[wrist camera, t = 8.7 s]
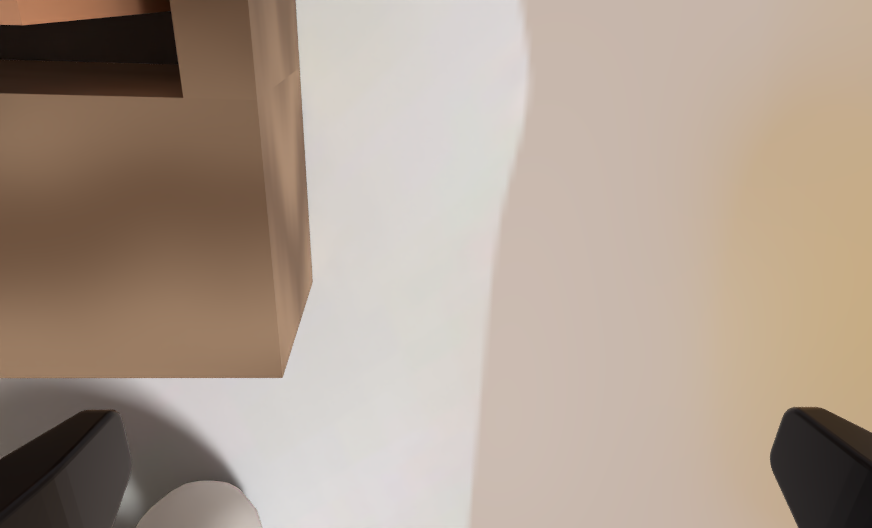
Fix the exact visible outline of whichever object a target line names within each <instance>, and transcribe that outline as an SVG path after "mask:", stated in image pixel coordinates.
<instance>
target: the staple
mask: <svg viewBox="0 0 872 528" xmlns="http://www.w3.org/2000/svg"><path fill="white" fill-rule="evenodd" d="M167 11H171V7H170V0H0V25H31V24H41V23H52V22H62V21H73V20H83V19H94V18H104V17H115V16H125V15H136V14H146V13H156V12H167Z"/></svg>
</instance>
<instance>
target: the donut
mask: <svg viewBox="0 0 872 528" xmlns="http://www.w3.org/2000/svg"><path fill="white" fill-rule="evenodd" d="M135 528H262V524H261V521H260V518H259V515H258V512H257V509H256V508H255V507H254V506H253V504H252V503H251V502H250V501H249V499H248V498H247V497H246V496H245V495H244V494H243V492H242V491H241V490H240V489H239V488H237V487H235V486H233V485H231V484H230V483H227V482H220V481H196V482H190V483H185V484H183V485H181V486H180V487H178V488H176V489H174V490H172V491H171V492H170V493H168V494H167V495H166V496H165V497H163V498H162V499H161V500H160V501H158V502H157V503H156V504H155V505H153V506H152V507H151V508H150V509H149V510H148V511H147V513H146V514H145V515H144V516H143V517H142V518H141V520H140V521H139V523H138V524H137V526H136V527H135Z"/></svg>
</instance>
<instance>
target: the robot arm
mask: <svg viewBox="0 0 872 528" xmlns="http://www.w3.org/2000/svg"><path fill="white" fill-rule="evenodd" d="M770 462H771V468H772V471H773V473H774V475H775V478H776V480H777V482H778V484H779V487H780V488H781V491H782V493H783V495H784V497H785V499H786V502H787V504H788V506H789V508H790V510H791V513H792V515H793V517H794V519H795V521H796V523H797V526H798V528H872V433H871V432H869V431H867V430H865V429H863V428H861V427H859V426H857V425H855V424H853V423H851V422H849V421H847V420H845V419H843V418H841V417H839V416H837V415H835V414H833V413H831V412H829V411H827V410H825V409H822V408H818V407H793V408H790V409H788V410H787V411H786V412H785V413H784V415H783V418H782V421H781V423H780V426H779V429H778V432H777V435H776V438H775V441H774V444H773V446H772V449H771V453H770ZM131 468H132V458H131V453H130V449H129V445H128V441H127V436H126V432H125V428H124V423H123V420H122V417H121V415H120V414H119V412H117V411H115V410H84V411H81V412H79V413H78V414H76V415H74V416H73V417H71V418H69V419H67V420H66V421H64V422H62V423H61V424H59V425H57V426H56V427H54V428H52V429H51V430H49V431H47V432H46V433H44V434H42V435H40V436H39V437H37V438H35V439H34V440H32V441H30V442H29V443H27V444H25V445H24V446H22V447H20V448H18V449H17V450H15V451H13V452H12V453H10V454H8V455H7V456H5V457H3V458H2V459H0V528H112V527H113V524H114V521H115V519H116V516H117V513H118V510H119V507H120V504H121V501H122V498H123V495H124V493H125V490H126V487H127V484H128V481H129V478H130V474H131Z"/></svg>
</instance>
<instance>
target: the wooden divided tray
mask: <svg viewBox="0 0 872 528" xmlns="http://www.w3.org/2000/svg"><path fill="white" fill-rule="evenodd" d="M170 7H171V14H172V21H173V28H174V35H175V42H176V49H177V56H178V63H179V64H144V63H109V62H73V61H38V60H2V59H0V378H283V375H284V371H285V368H286V365H287V362H288V359H289V356H290V352H291V349H292V346H293V343H294V340H295V336H296V333H297V330H298V327H299V324H300V321H301V317H302V314H303V311H304V308H305V305H306V301H307V298H308V295H309V292H310V289H311V286H312V282H313V281H312V265H311V248H310V232H309V215H308V199H307V182H306V166H305V150H304V133H303V117H302V100H301V84H300V68H299V51H298V35H297V18H296V2H295V0H170Z"/></svg>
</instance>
